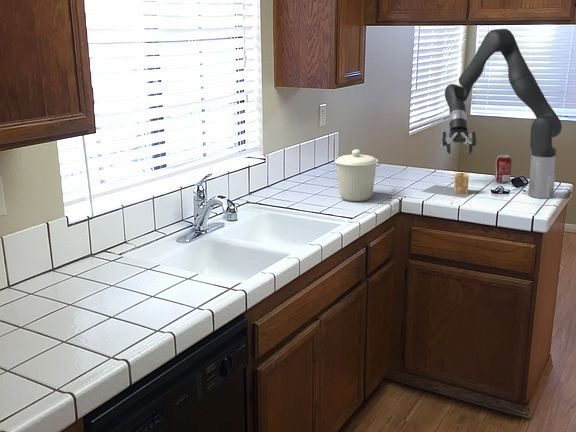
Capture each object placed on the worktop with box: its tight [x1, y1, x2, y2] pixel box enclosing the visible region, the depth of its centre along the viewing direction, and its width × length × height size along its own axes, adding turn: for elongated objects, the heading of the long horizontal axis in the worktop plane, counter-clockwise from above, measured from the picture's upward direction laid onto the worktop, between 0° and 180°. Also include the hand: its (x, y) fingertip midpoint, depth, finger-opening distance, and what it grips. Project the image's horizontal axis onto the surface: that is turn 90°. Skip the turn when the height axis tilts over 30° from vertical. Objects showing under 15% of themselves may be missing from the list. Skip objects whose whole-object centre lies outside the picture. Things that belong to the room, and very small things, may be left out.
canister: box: [333, 149, 379, 202], centre depth 267 cm, size 18×18×21 cm
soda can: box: [494, 154, 512, 184], centre depth 289 cm, size 7×7×12 cm
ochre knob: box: [453, 172, 469, 194], centre depth 267 cm, size 5×5×8 cm
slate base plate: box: [421, 184, 479, 199], centre depth 271 cm, size 20×14×2 cm
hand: (459, 152), depth 275 cm, fingers open, 8 cm apart
